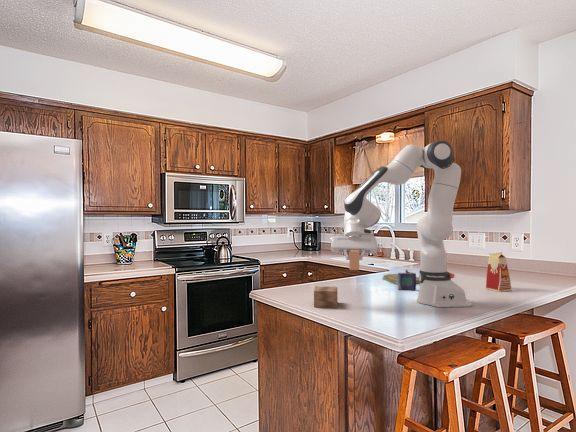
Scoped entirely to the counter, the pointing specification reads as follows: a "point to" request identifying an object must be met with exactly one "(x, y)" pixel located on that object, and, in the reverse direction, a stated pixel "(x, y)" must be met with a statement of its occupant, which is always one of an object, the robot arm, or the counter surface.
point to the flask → (407, 281)
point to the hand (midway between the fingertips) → (354, 259)
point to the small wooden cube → (325, 297)
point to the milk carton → (498, 273)
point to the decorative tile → (395, 278)
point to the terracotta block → (354, 260)
